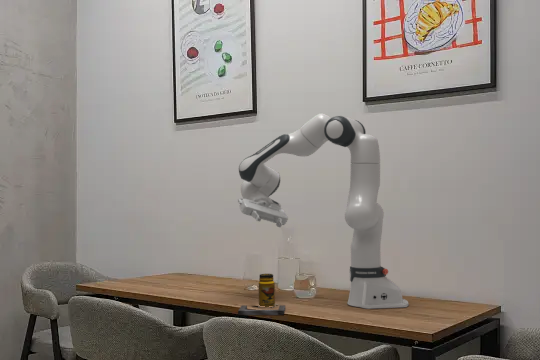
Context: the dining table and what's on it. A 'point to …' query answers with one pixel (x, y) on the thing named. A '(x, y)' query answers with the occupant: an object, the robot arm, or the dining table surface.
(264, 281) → the condiment
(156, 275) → the dining table surface
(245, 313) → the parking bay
